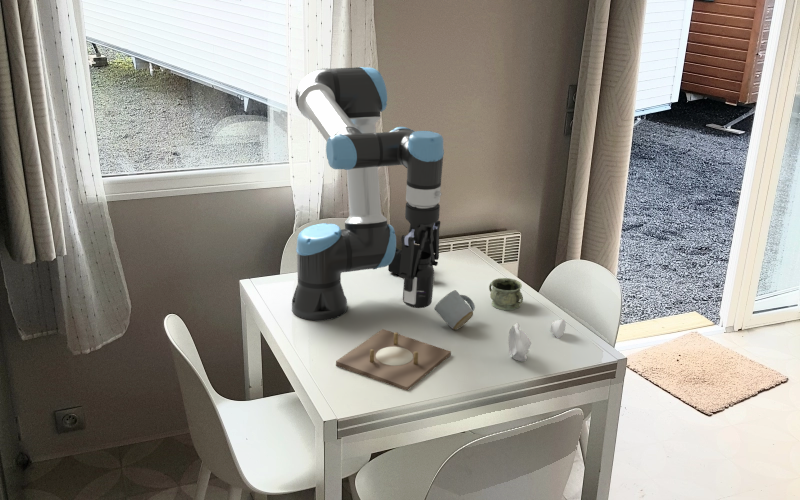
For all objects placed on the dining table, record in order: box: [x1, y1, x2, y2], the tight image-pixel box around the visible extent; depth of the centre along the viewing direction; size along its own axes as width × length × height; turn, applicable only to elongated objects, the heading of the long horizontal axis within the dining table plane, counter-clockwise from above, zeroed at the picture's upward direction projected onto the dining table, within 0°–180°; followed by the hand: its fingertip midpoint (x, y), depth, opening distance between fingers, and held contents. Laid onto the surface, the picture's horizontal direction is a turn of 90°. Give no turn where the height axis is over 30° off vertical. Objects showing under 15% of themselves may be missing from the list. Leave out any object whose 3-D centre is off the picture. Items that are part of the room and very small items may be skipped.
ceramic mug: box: [434, 289, 476, 331], centre depth 204 cm, size 11×8×8 cm
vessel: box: [488, 277, 524, 311], centre depth 218 cm, size 12×9×6 cm
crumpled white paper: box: [508, 322, 532, 362], centre depth 188 cm, size 10×4×10 cm, turn 5°
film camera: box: [387, 247, 422, 276], centre depth 237 cm, size 15×10×9 cm, turn 55°
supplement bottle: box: [402, 251, 435, 309], centre depth 178 cm, size 7×7×12 cm
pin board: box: [335, 328, 452, 391], centre depth 187 cm, size 20×20×4 cm
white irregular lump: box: [549, 319, 567, 339], centre depth 201 cm, size 5×3×5 cm, turn 149°
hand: (417, 296), depth 180 cm, fingers closed on supplement bottle, 7 cm apart
